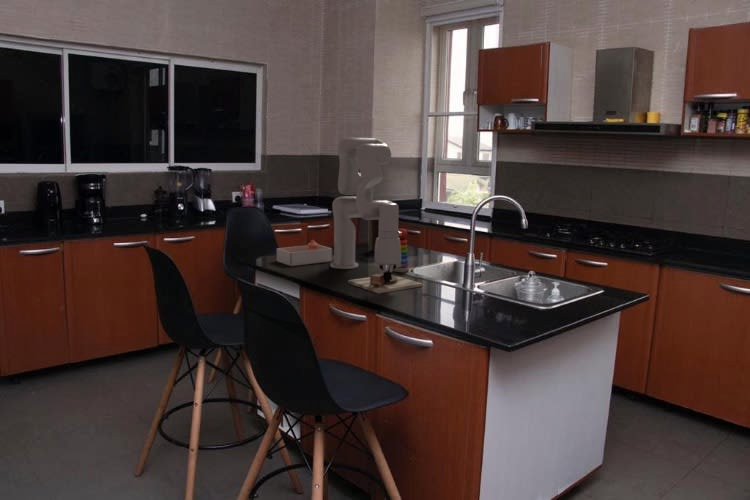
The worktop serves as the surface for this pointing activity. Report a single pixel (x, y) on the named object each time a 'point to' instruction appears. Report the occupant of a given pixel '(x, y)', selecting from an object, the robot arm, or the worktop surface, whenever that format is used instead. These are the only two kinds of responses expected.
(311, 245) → the pottery
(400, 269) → the stacking toy
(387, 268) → the grey cylinder
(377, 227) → the olive oil
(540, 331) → the worktop surface
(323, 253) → the dish tray
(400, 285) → the board
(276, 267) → the worktop surface
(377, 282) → the ring with handle
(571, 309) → the worktop surface
